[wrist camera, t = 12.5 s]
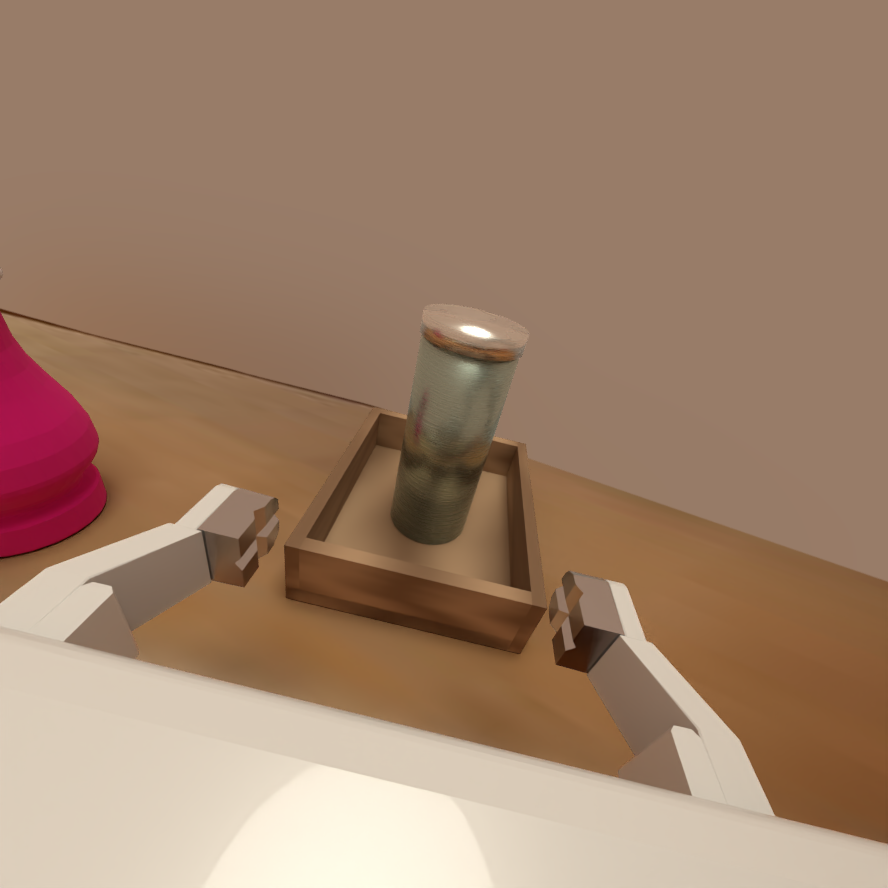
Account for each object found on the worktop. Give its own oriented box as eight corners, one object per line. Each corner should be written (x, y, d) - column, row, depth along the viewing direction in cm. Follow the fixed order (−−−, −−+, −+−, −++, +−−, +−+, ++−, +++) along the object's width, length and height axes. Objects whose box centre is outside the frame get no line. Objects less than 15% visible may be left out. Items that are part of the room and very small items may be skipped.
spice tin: (468, 499, 27) (524, 320, 20) (463, 554, 22) (534, 348, 16) (398, 483, 27) (432, 298, 20) (380, 534, 22) (414, 319, 16)
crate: (510, 482, 31) (525, 444, 29) (519, 653, 19) (547, 608, 17) (368, 448, 31) (373, 406, 29) (286, 597, 19) (284, 545, 17)
